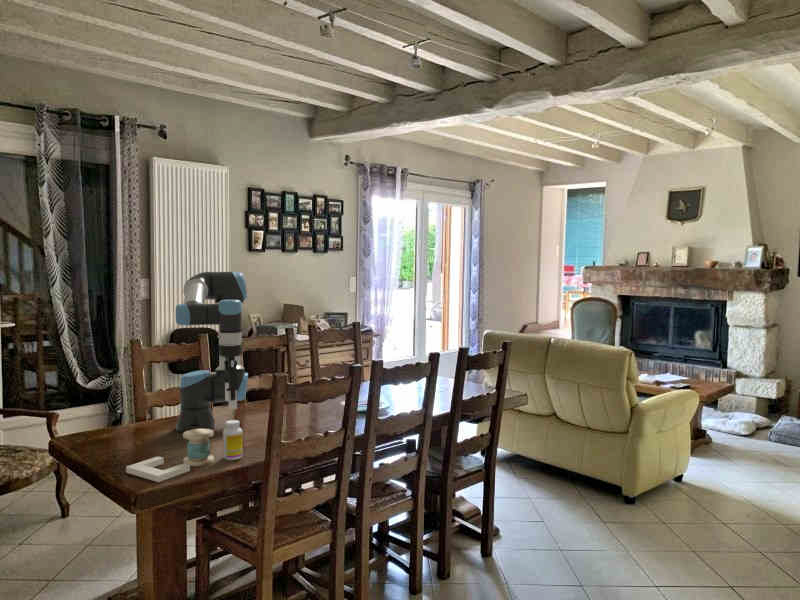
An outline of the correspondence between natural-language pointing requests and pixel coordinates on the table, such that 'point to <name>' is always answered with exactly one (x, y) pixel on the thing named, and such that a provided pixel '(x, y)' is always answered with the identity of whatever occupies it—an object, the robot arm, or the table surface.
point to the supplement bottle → (232, 441)
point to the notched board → (154, 474)
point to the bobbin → (198, 447)
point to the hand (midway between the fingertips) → (230, 404)
